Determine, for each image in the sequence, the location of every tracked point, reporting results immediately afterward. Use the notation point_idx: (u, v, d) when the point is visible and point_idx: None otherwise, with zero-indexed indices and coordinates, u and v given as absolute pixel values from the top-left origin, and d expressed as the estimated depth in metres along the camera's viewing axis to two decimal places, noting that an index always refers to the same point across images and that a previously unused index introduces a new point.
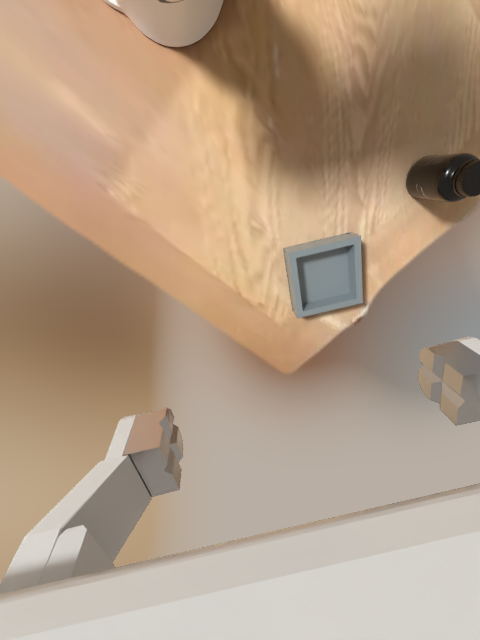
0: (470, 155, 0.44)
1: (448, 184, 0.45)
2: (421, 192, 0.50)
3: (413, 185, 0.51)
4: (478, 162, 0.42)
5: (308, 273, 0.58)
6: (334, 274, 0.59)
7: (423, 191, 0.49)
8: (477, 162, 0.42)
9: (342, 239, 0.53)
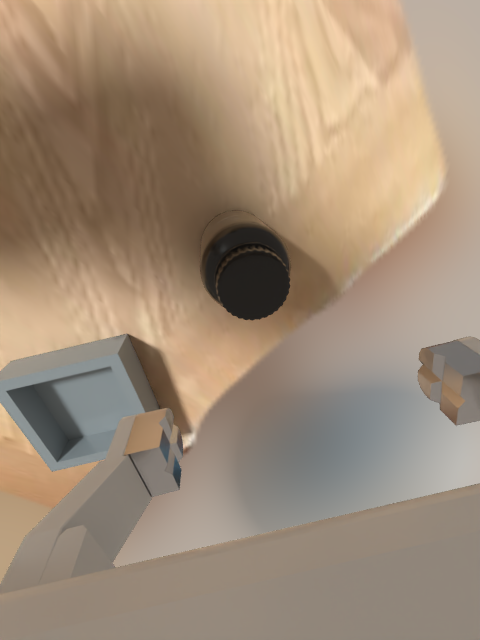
0: (252, 229, 0.20)
1: None
2: None
3: None
4: (242, 255, 0.18)
5: (68, 398, 0.34)
6: (115, 397, 0.35)
7: None
8: (239, 255, 0.18)
9: (88, 357, 0.29)
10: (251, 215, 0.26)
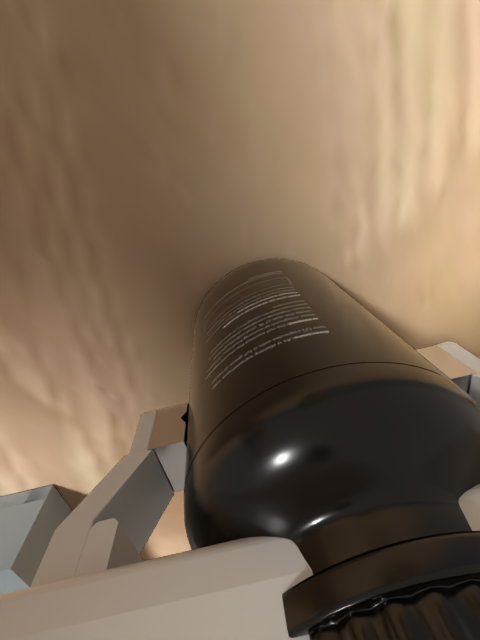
0: (411, 416, 0.05)
1: None
2: None
3: None
4: None
5: None
6: None
7: None
8: None
9: None
10: (325, 282, 0.10)
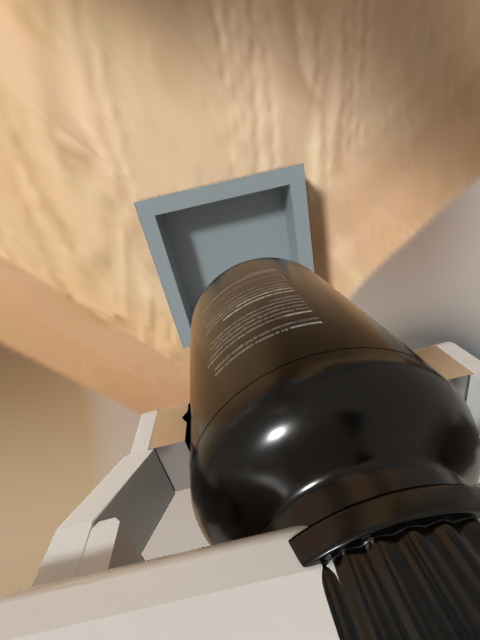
0: (394, 392, 0.05)
1: None
2: None
3: None
4: None
5: (206, 256, 0.28)
6: None
7: None
8: None
9: (262, 172, 0.23)
10: (316, 279, 0.10)
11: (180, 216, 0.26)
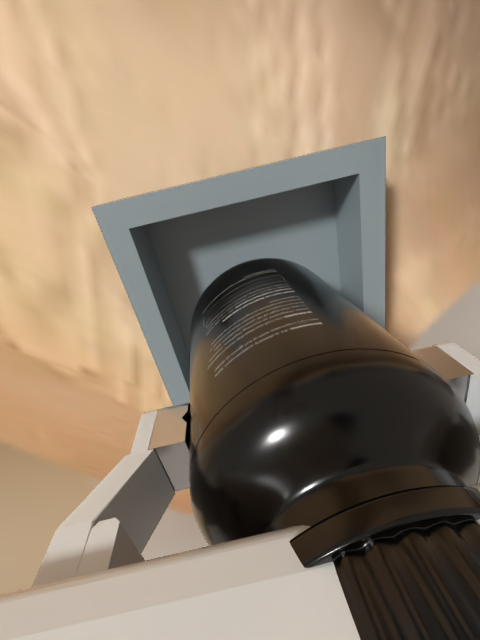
0: (394, 394, 0.05)
1: None
2: None
3: None
4: None
5: None
6: None
7: None
8: None
9: (312, 154, 0.13)
10: (316, 280, 0.10)
11: (173, 226, 0.17)
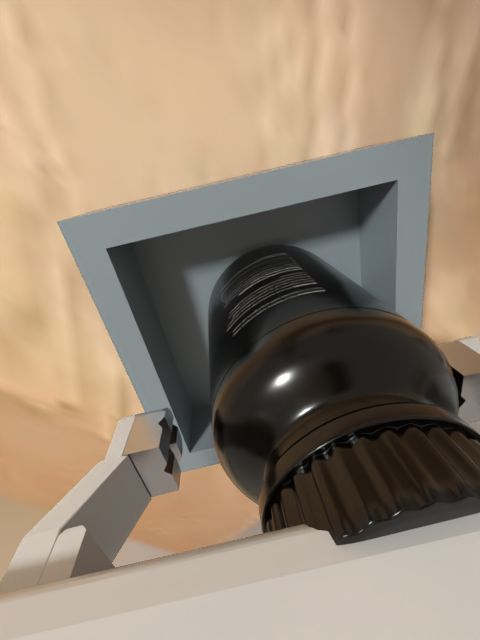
0: (381, 339, 0.07)
1: (258, 490, 0.07)
2: None
3: None
4: (408, 517, 0.04)
5: None
6: None
7: None
8: (398, 517, 0.04)
9: (338, 155, 0.11)
10: (322, 262, 0.12)
11: (165, 242, 0.14)
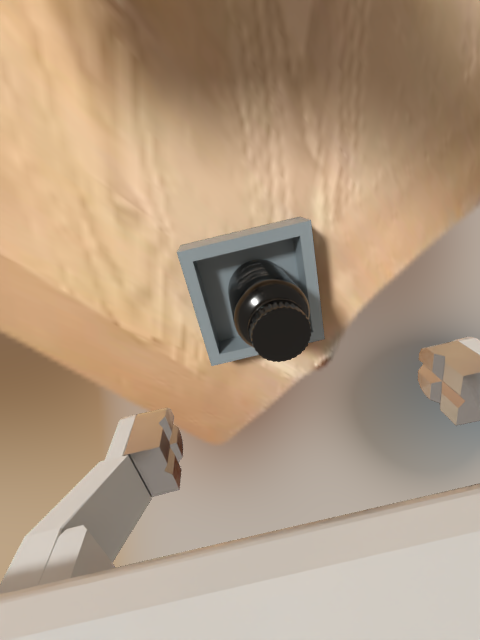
0: (279, 285, 0.25)
1: (247, 331, 0.25)
2: None
3: None
4: (273, 311, 0.22)
5: None
6: None
7: None
8: (271, 311, 0.22)
9: (278, 227, 0.29)
10: (274, 266, 0.30)
11: (209, 258, 0.32)
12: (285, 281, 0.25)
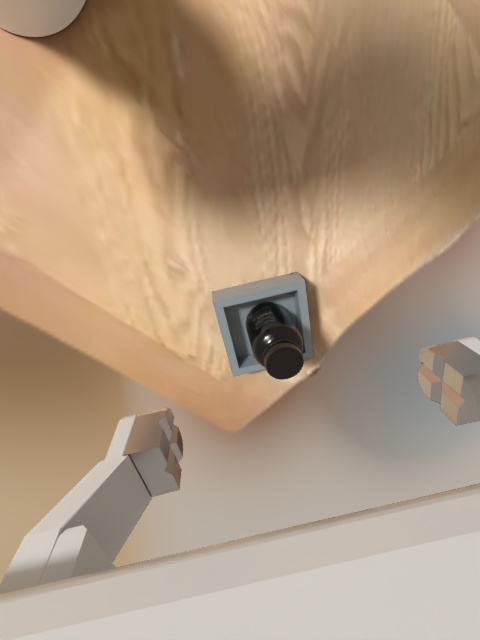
0: (283, 329, 0.38)
1: (262, 358, 0.39)
2: None
3: None
4: (280, 349, 0.35)
5: None
6: None
7: None
8: (278, 349, 0.35)
9: (282, 284, 0.42)
10: (279, 309, 0.43)
11: None
12: (287, 326, 0.38)
